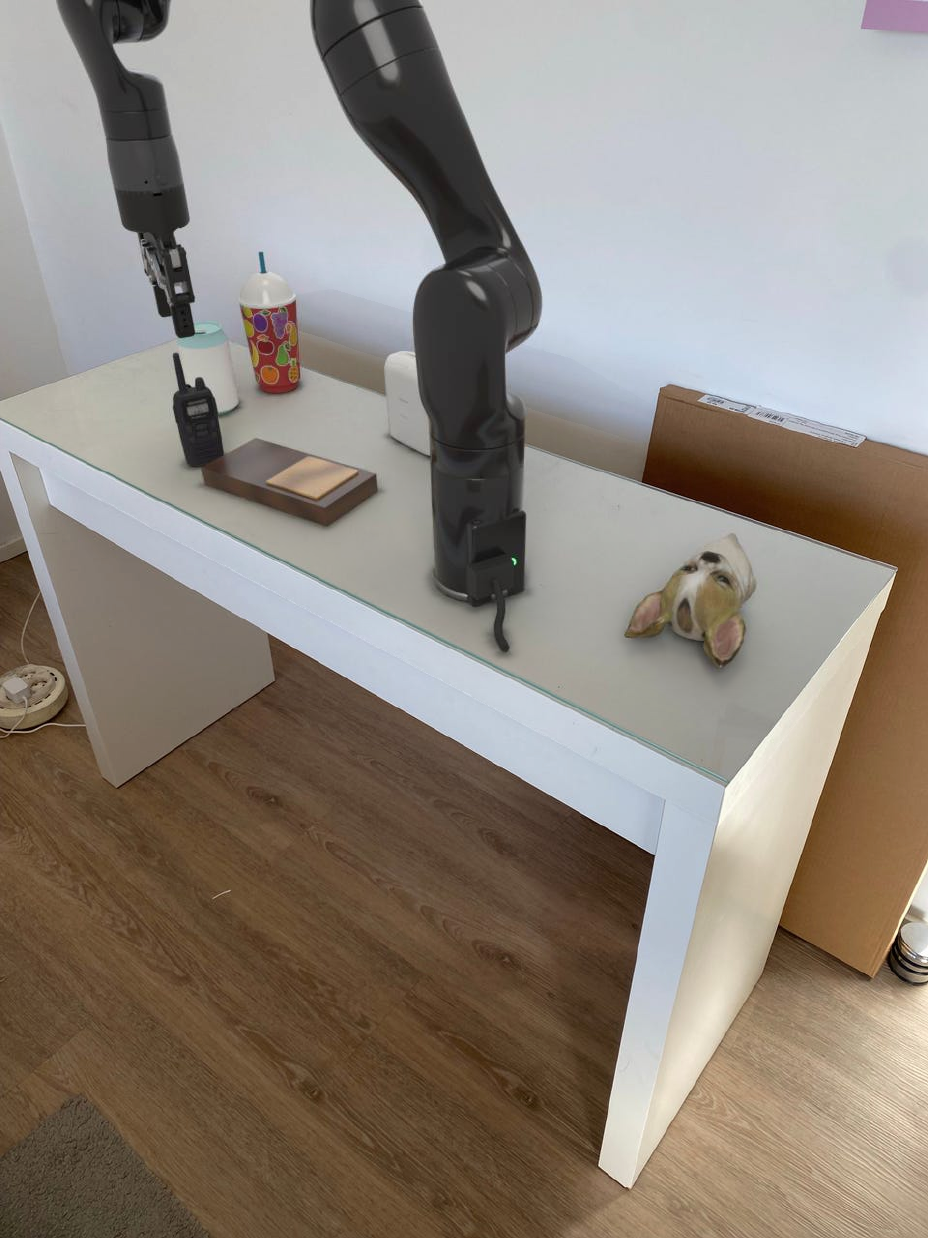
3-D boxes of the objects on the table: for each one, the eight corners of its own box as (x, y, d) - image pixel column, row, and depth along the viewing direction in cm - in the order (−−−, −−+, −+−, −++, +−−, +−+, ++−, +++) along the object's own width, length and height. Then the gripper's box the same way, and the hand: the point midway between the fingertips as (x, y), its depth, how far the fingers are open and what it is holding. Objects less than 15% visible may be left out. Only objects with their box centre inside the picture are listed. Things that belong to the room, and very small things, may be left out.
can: (248, 406, 135) (235, 326, 128) (208, 421, 131) (192, 339, 124) (221, 394, 139) (207, 315, 132) (181, 408, 135) (164, 328, 128)
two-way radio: (189, 470, 119) (164, 358, 110) (179, 457, 122) (154, 347, 113) (229, 460, 121) (209, 349, 112) (219, 448, 124) (198, 339, 115)
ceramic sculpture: (790, 532, 87) (736, 619, 77) (775, 603, 92) (724, 693, 83) (684, 505, 92) (621, 584, 82) (676, 574, 97) (616, 656, 88)
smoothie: (289, 372, 146) (271, 241, 134) (316, 387, 141) (301, 252, 129) (242, 385, 142) (220, 251, 130) (269, 401, 136) (249, 263, 125)
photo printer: (384, 435, 126) (377, 348, 119) (409, 427, 129) (404, 340, 121) (429, 461, 120) (425, 370, 113) (454, 451, 122) (452, 362, 115)
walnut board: (377, 491, 113) (376, 471, 112) (327, 526, 107) (324, 505, 105) (258, 454, 122) (255, 435, 120) (204, 485, 115) (200, 465, 114)
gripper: (101, 173, 105) (133, 314, 114) (127, 196, 95) (159, 349, 104) (166, 166, 107) (192, 304, 117) (198, 188, 97) (223, 338, 107)
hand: (177, 325), depth 111 cm, fingers open, 8 cm apart
